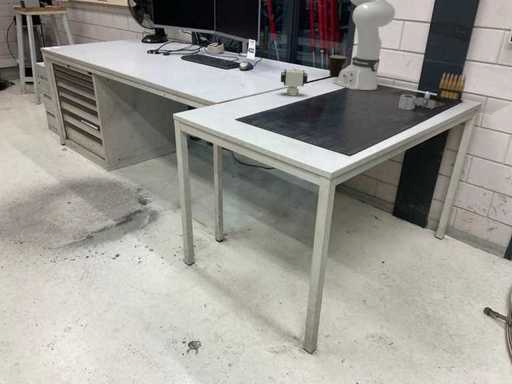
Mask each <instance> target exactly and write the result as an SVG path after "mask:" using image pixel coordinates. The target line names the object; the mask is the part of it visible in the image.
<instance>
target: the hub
mask: <svg viewBox="0 0 512 384" xmlns="http://www.w3.org/2000/svg"><path fill="white" fill-rule="evenodd" d="M416 98H417V97H416V95H413V94H401V95H400V99H399V103H398V108H399V109H401V110H405V111H413V110H415V102H416ZM412 109H413V110H412Z"/></svg>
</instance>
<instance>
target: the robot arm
mask: <svg viewBox="0 0 512 384" xmlns="http://www.w3.org/2000/svg"><path fill="white" fill-rule="evenodd" d="M350 2H351V3H352V4H353V5H355V6H356V7H355V9H354V10H353V12H352V21H353V24H354V25H355V28H356V31H357V48H356V54H355V56H354V57H350V61H352V62H351V64H349V65H348V66H345V68H344V67H343V70H341V72H340V74H339V77H337V78H336V79H334V80H333V82H332V83H334V84H335V85H338V86H341V87H344V88H347V89H350V90H362V91H365V90H366V91H373V90H376V89H377V90H378V83H377V82H378V70H379V65H380V55H381V49H382V40H381V38H380V34H379V28H383V27H385V26H388V25H389V24H390V23H392V22H393V21H394V19H395V16H396V10H395V7H394V6H393V5H392V4H391V3H390V2H388V1H387V0H350Z"/></svg>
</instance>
